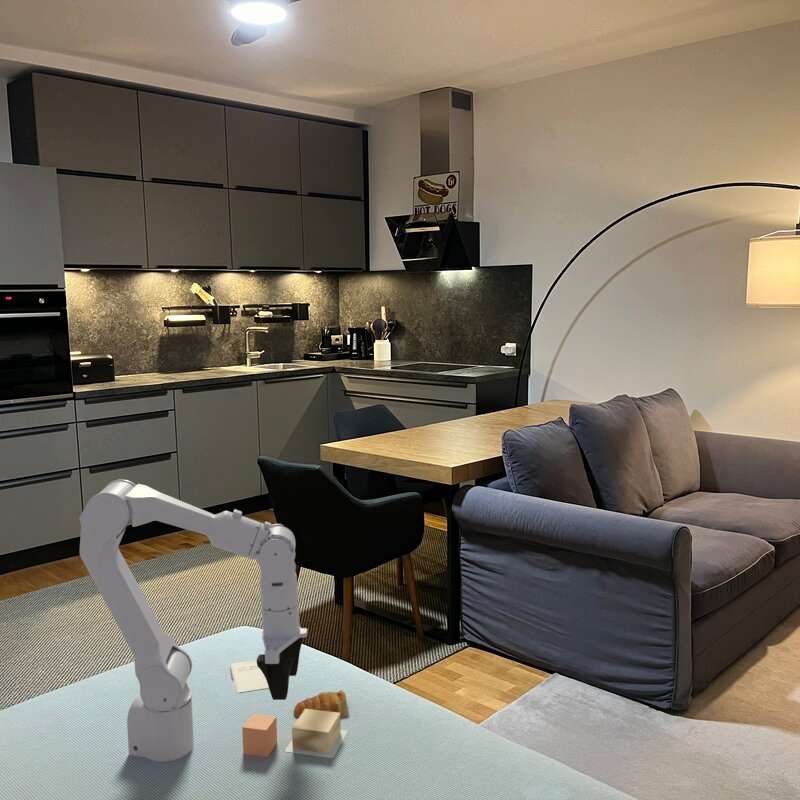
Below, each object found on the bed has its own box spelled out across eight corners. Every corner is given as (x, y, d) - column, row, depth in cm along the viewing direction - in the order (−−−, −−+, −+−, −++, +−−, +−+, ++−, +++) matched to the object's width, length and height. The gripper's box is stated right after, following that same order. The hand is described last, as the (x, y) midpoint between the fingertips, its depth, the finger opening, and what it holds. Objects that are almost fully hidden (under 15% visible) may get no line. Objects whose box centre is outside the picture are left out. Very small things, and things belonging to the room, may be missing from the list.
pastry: (296, 729, 132) (295, 708, 131) (291, 710, 138) (291, 689, 138) (351, 722, 134) (351, 700, 133) (344, 703, 140) (344, 682, 140)
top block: (243, 754, 123) (242, 727, 122) (253, 740, 127) (252, 714, 126) (267, 757, 122) (266, 730, 121) (277, 743, 126) (276, 716, 125)
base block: (292, 748, 124) (292, 727, 124) (305, 728, 130) (305, 708, 129) (328, 753, 123) (328, 732, 122) (340, 733, 128) (340, 712, 128)
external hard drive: (236, 701, 142) (230, 670, 154) (282, 694, 144) (272, 664, 156) (236, 692, 142) (229, 662, 153) (282, 685, 144) (272, 656, 156)
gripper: (296, 623, 116) (301, 710, 118) (313, 587, 130) (317, 665, 132) (248, 623, 116) (254, 710, 118) (271, 587, 131) (276, 665, 132)
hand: (284, 686), depth 125 cm, fingers open, 7 cm apart
